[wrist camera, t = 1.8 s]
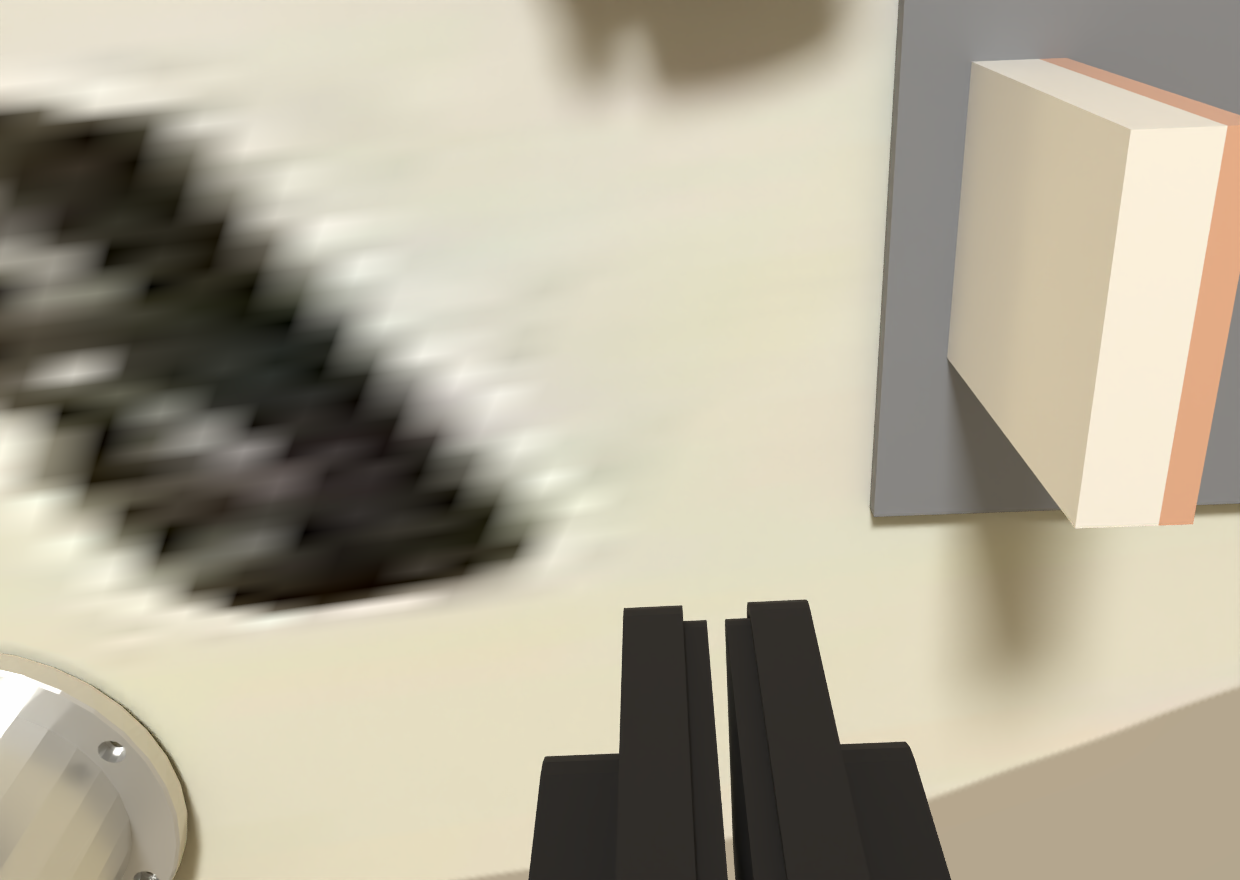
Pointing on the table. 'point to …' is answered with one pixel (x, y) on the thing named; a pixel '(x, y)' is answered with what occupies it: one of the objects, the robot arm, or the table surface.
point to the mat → (928, 225)
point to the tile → (1097, 281)
